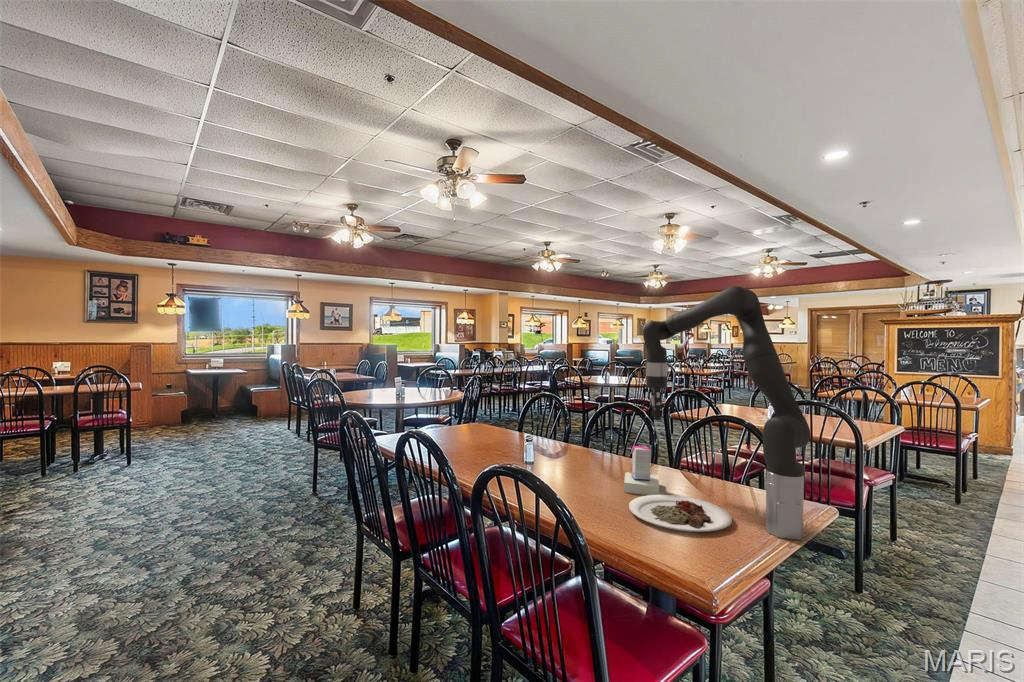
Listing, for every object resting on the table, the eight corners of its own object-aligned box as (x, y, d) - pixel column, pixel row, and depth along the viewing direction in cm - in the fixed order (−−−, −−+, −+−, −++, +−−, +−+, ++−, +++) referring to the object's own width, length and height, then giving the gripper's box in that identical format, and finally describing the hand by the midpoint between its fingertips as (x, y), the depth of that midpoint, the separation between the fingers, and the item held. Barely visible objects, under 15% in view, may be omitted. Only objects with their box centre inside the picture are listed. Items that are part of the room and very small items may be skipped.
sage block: (659, 497, 161) (659, 486, 161) (623, 493, 164) (624, 482, 164) (657, 485, 174) (657, 475, 174) (625, 482, 178) (625, 472, 178)
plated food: (622, 526, 134) (622, 514, 134) (634, 495, 162) (634, 485, 162) (736, 544, 123) (736, 532, 123) (728, 507, 151) (728, 497, 151)
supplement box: (650, 481, 166) (651, 449, 166) (634, 480, 167) (634, 449, 167) (647, 476, 172) (647, 445, 172) (631, 475, 173) (631, 445, 172)
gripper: (669, 376, 162) (669, 422, 161) (665, 374, 176) (665, 416, 175) (647, 375, 163) (647, 421, 163) (645, 373, 177) (644, 415, 177)
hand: (656, 418), depth 169 cm, fingers open, 8 cm apart
